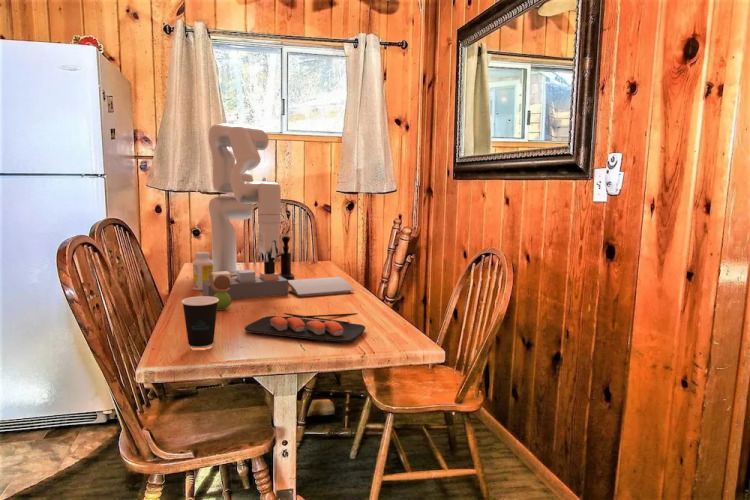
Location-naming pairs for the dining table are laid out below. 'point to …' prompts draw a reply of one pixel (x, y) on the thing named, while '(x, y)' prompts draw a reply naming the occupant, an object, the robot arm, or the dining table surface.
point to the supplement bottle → (201, 269)
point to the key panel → (251, 288)
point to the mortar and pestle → (286, 260)
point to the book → (320, 286)
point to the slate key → (245, 276)
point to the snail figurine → (221, 290)
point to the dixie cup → (200, 320)
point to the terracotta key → (269, 276)
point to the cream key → (216, 274)
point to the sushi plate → (308, 327)
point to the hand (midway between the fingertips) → (269, 273)
